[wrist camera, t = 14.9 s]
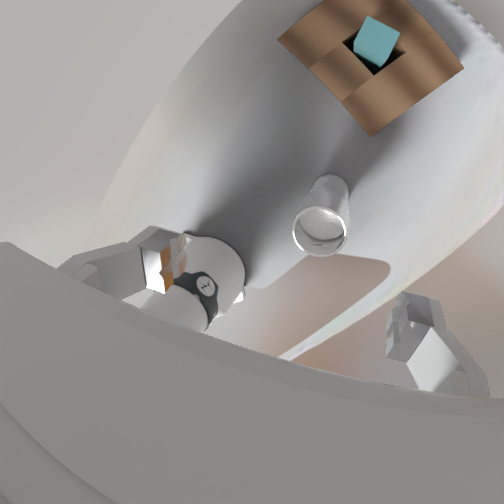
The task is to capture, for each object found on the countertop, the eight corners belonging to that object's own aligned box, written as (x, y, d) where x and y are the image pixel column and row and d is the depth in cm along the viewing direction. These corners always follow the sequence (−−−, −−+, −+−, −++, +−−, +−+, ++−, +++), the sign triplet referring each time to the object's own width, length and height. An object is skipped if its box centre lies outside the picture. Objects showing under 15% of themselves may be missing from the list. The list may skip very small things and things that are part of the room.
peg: (378, 70, 33) (387, 59, 23) (353, 57, 33) (353, 42, 23) (388, 49, 31) (400, 33, 21) (363, 36, 31) (367, 15, 21)
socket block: (367, 132, 38) (370, 137, 33) (286, 46, 35) (276, 39, 30) (451, 71, 28) (464, 68, 23) (368, -17, 25) (370, -31, 20)
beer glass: (354, 209, 45) (352, 256, 33) (314, 214, 48) (297, 260, 36) (347, 168, 42) (344, 200, 30) (305, 175, 45) (284, 208, 33)
